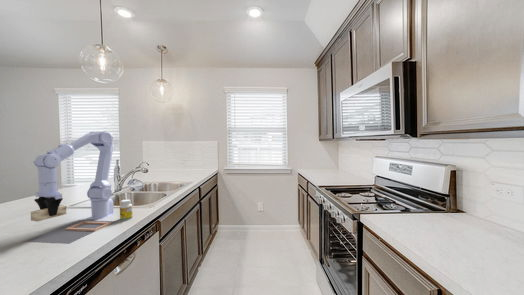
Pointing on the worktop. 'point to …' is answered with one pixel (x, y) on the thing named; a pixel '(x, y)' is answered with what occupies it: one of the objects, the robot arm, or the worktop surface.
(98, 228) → the terracotta frame
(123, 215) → the supplement bottle
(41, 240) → the rubber mat
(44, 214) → the cream long block
